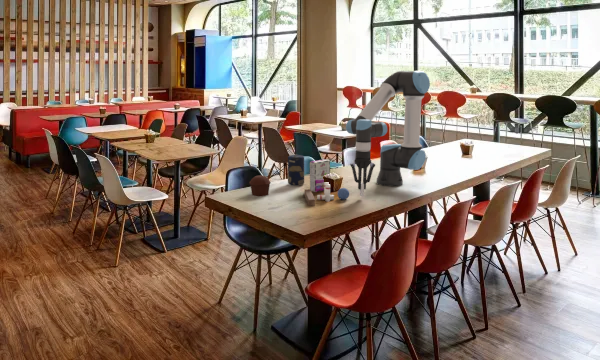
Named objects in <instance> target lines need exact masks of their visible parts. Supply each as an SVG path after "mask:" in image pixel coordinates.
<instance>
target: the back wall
mask: <svg viewBox="0 0 600 360" xmlns="http://www.w3.org/2000/svg"><path fill="white" fill-rule="evenodd" d="M304 197H305V200H306V203H307V205H308V206H309V207H310V206H316V199H315V196H314V194H313V191H311V190H310V188H309V189H307V188H306V189H304Z"/></svg>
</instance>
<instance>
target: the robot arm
mask: <svg viewBox="0 0 600 360" xmlns="http://www.w3.org/2000/svg"><path fill="white" fill-rule="evenodd" d="M430 87H431V84H430V77H429V76H428V74H427V73H426V72H425V71H422V70H399V71H398V70H397V71H396V72H394V73H392V74H391V75H389V76H388V77H387V78H385V79H384V81H383V82H382V83H381V84H380V85H379V89H378V91H377V92H376V93H375V94H374V96H373V97H372V98H371V99H370V100H369V102H368V103H367V104H366V105H365V106H364V108H363V109H362V110H361V111H360V113H359V114H358V115H357V116H356V117H355V119H350V120H348V121H347V122H346V125H345V129H346V132H347V133H348V134H350V135H353V136H354V135H355V138H356V139H355V159H354V161H353V162H352V163H350V164H349V166H350V167H351V170H352V175H353V178H354V182H355V183H357V188H358V189H357V190H359V196H360V197H364V196H365V195H364V194H365V190H366V189H367V184H368V183H370V181H371V178H372V175H373V171H374V168H375V167H376V164H375V162H372V160H371V153H372V152H371V149H372V148H371V147H372V138H377V137H379V138H380V137H383V136H385V135H386V134H387V133H388V125H387V124H386V123H385V121H373V120H374V119H375V117H376V116H377V115H378V114H379V112H380V111H381V110H382V108H383V107H384V106H385V105H386V104H387V102H388V101H389V100H390V99H391V98H393V97H394V96H396V94H398V93H402V97H403V98H404V99H405V101H404V103H405V106H404V126H403V142H402V143H393V144H392V143H391V144H389V143H388V144H383V145H381V148H380V152H379V153H380V155H379V156H380V157H379V158H380V159H379V160H380V161H379V172H378V175H377V177H376V184H377V183H378V184H377V185H379V184H381V185H380V186H384V185H399V186H402V185H403V181H404V180H403V175H402V172H401V168H402V169H406V170H410V171H417V170H418V171H419V170H421V168H422V167H423V165H424V164H425V161H426V157H427V156H426V152H425V150H423V148H422V147H423V145H422V144H421V143H420V136H421V135H420V134H421V119H422V118H421V114H422V100H423V99H424V97H425V94H426V93H428V92H429V89H430ZM356 166H357V168H358V169H357V170H358V174H357V172H356V171H357V170H356ZM368 168H369V169H368ZM362 171H363V172H362ZM367 171H368V172H367ZM401 184H402V185H401Z"/></svg>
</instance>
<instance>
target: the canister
mask: <svg viewBox="0 0 600 360" xmlns="http://www.w3.org/2000/svg"><path fill="white" fill-rule="evenodd" d="M287 183H288V185H290V186H296V187H297V186H303V185H304V184H305V156H304V155H302V154H298V153H295V154H291V155H289V156H287Z"/></svg>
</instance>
